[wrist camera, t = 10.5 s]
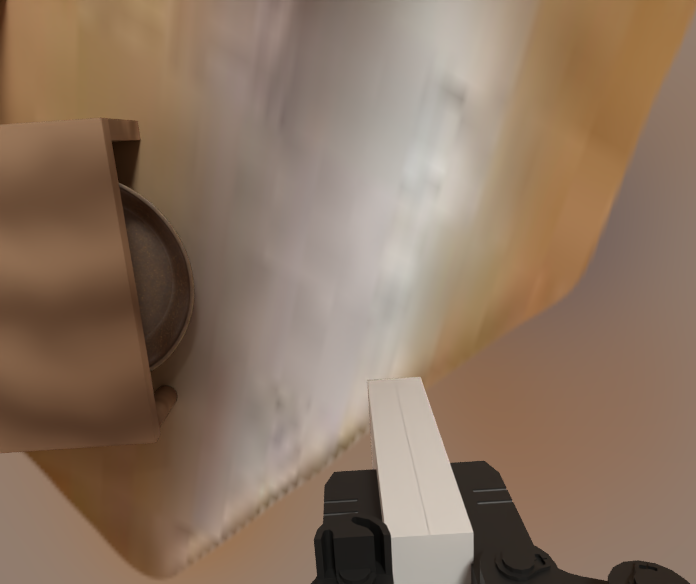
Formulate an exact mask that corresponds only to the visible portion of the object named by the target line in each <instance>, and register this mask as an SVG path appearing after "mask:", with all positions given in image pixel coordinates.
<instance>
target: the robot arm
mask: <svg viewBox="0 0 696 584" xmlns="http://www.w3.org/2000/svg"><path fill="white" fill-rule="evenodd" d="M367 381H368V399H369V416H370V434H371V449H372V450H371V451H372V466H373V470H358V471H342V472H334V473H333V474H332V476H331V477H330V479H329V480H328V482H327V483H326V484H325V491H324V518H323V524H322V525H321V526H320V527H319V528H318V530H317V532H316V535H315V538H314V546H315V556H316V568H317V577H316V579H315V580H314V581H313V582H312V583H311V584H690V583H689V582H688V581H687V580H685V579H684V578H682V577H681V576H679V575H678V574H677V573H675V572H674V571H672V570H670V569H668V568H665V567H663V566H660V565H658V564H655V563H650V562H644V561H628V562H623V563H621V564H619V565H617V566H615V567H613V569H612V571H611V572H610V574H609V576H608V581H604V580H598V579H593V578H588V577H581V576H578V575H574V574H570V573H567V572H565V571H563V570H560V569H558V568H557V565H556V564H555V562H554V561H553V560H552V559H551V557H550V556H549V555H548V554H547V553H546V552H544V551H543V550H541V549H540V548H538V547H536V546H534V545H533V543H532V540H531V538H530V536H529V534H528V532H527V530H526V528H525V526H524V524H523V522H522V519H521V517H520V515H519V513H518V511H517V509H516V507H515V505H514V503H513V502H512V499H511V497H510V494H509V492H508V490H506V486H505V484H504V482H503V480H502V478H501V476H500V473H499V472H498V471H496V470H495V469H494V468H493V467H491V466H490V465H489V464H488V463H486V462H485V461H474V462H460V463H459V462H458V463H450V462H449V459H448V456H447V453H446V451H445V448H444V445H443V442H442V439H441V436H440V433H439V430H438V427H437V424H436V422H435V418H434V416H433V412H432V410H431V407H430V404H429V401H428V398H427V395H426V392H425V389H424V386H423V383H422V380H421V377H411V378H395V379H380V380H367Z"/></svg>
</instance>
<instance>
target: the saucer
mask: <svg viewBox="0 0 696 584" xmlns="http://www.w3.org/2000/svg"><path fill="white" fill-rule="evenodd" d="M118 183H119V182H118ZM119 189H120V195H121V201H122V207H123V213H124V219H125V225H126V231H127V237H128V243H129V249H130V255H131V261H132V267H133V273H134V278H135V284H136V290H137V296H138V302H139V308H140V314H141V320H142V326H143V332H144V338H145V344H146V350H147V356H148V362H149V368H150V372H151V371H152V370H154V369H156V368H157V367H158V366H160V365H161V364H162V363H163V362H164V361H165V360H166V359H167V358H168V357H169V356H170V355H171V354H172V353H173V352H174V350H175V349H176V348H177V346H178V345H179V343H180V342H181V340H182V338H183V336H184V334H185V332H186V330H187V328H188V325H189V322H190V319H191V315H192V311H193V304H194V281H193V274H192V269H191V265H190V262H189V258H188V256H187V253H186V250H185V248H184V246H183V244H182V242H181V240H180V238H179V236H178V235H177V233H176V231H175V230H174V228H173V227H172V225H171V224H170V223H169V221H168V220H167V219H166V218H165V216H164V215H163V214H162V213H161V212H160V211H159V210H158V209H157V208H156V207H155V206H154V205H153V204H152V203H151V202H149V201H148V200H147V199H146V198H144V197H143V196H142V195H140V194H139V193H137V192H135V191H134V190H132V189H130V188H129V187H127V186H125V185H123V184H121V183H119Z"/></svg>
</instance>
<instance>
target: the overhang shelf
mask: <svg viewBox="0 0 696 584" xmlns="http://www.w3.org/2000/svg"><path fill="white" fill-rule="evenodd" d="M132 140H140V134H139V127H138V121H132V120H120V119H108V118H91V119H76V120H61V121H47V122H32V123H17V124H2V125H0V453H9V452H25V451H40V450H54V449H69V448H84V447H99V446H114V445H129V444H144V443H156V442H157V440H158V439H159V437H160V435H161V434H160V426H161V425H162V423H163V421H164V420H165V418H166V417H167V415H168V413H169V412H170V410H171V408H172V407H173V405H174V404H175V402H176V400H177V393H176V391H175V390H174V389H173V388H172V387H169V386H162V387H160V388H158V390H157V391H156V392H155V394H154V392H153V386H152V380H151V374H150V368H149V362H148V356H147V350H146V344H145V338H144V332H143V326H142V320H141V314H140V308H139V302H138V296H137V290H136V284H135V278H134V273H133V267H132V261H131V255H130V249H129V243H128V237H127V231H126V225H125V219H124V213H123V207H122V201H121V195H120V189H119V183H118V177H117V171H116V165H115V159H114V153H113V147H112V142H117V141H132Z"/></svg>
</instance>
